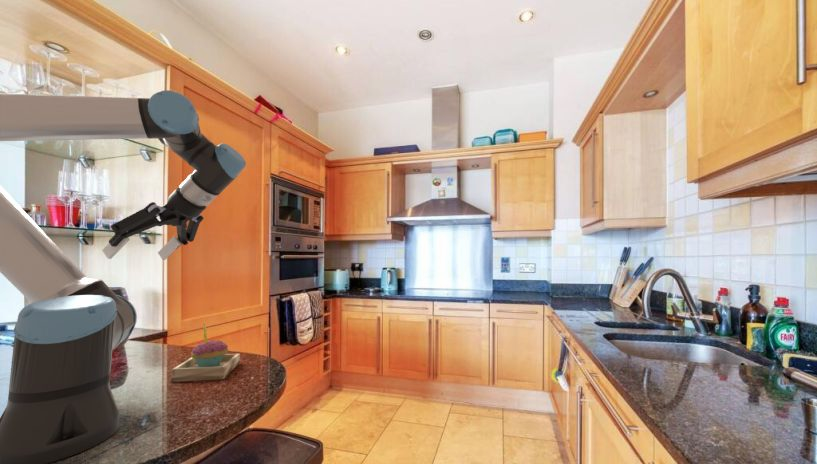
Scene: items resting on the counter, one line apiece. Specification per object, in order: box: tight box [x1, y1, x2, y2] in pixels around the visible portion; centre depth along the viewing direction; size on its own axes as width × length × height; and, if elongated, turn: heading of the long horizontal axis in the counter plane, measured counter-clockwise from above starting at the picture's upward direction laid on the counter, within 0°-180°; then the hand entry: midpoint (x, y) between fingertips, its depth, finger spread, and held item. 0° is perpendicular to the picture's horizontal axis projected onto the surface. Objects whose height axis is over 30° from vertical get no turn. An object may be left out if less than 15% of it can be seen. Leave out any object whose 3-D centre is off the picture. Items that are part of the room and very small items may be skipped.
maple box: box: [170, 353, 241, 383], centre depth 86 cm, size 12×12×3 cm
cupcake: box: [190, 323, 229, 367], centre depth 87 cm, size 9×8×12 cm
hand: (136, 255), depth 81 cm, fingers open, 13 cm apart
